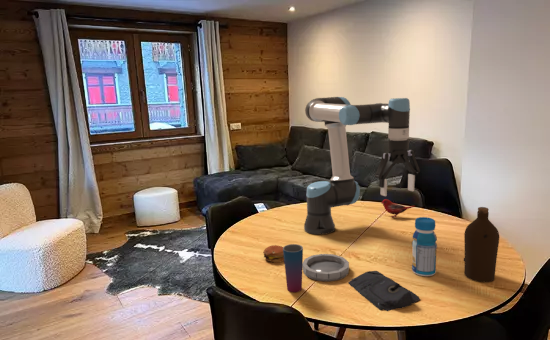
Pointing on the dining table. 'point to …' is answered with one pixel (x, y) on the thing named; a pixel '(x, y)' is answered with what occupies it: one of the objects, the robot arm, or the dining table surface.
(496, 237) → the olive oil
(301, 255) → the cup
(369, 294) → the dark slate chunk
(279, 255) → the burger
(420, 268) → the beverage bottle
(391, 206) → the decorative bird figurine
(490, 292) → the dining table surface
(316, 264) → the tray
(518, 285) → the dining table surface
